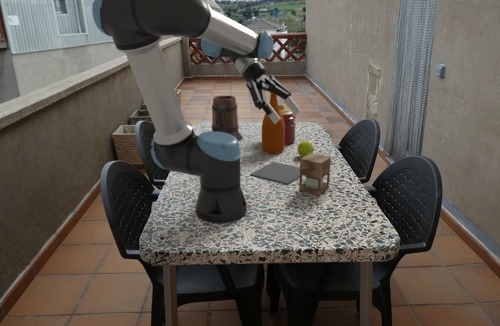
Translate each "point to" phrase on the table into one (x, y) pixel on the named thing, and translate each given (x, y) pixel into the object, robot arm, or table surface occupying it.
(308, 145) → the tennis ball
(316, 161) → the wooden nightstand
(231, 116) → the tankard
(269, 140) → the wine bottle
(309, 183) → the block
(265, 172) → the mat
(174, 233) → the table surface
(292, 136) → the canister
